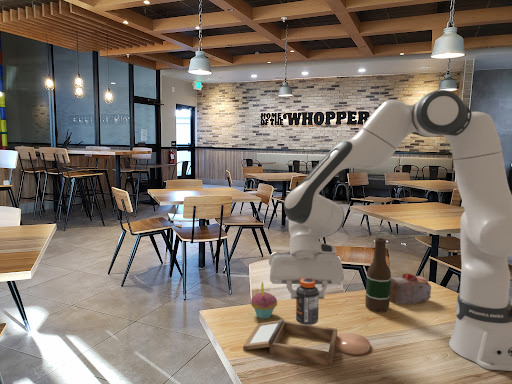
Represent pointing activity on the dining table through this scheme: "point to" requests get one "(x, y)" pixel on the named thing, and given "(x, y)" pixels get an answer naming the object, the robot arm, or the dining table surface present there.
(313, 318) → the pill bottle
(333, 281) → the robot arm
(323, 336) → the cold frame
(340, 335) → the pink round plate
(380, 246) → the beer bottle
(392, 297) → the food item
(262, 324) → the lid
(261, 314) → the cupcake
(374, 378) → the dining table surface
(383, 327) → the dining table surface
